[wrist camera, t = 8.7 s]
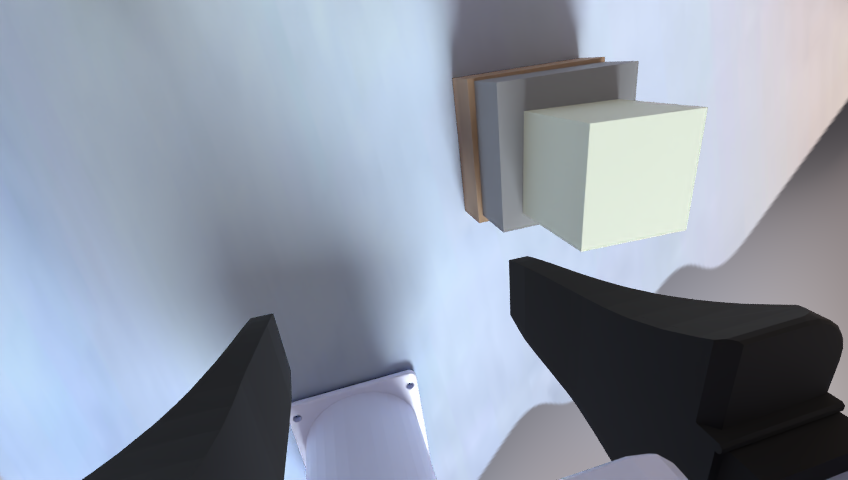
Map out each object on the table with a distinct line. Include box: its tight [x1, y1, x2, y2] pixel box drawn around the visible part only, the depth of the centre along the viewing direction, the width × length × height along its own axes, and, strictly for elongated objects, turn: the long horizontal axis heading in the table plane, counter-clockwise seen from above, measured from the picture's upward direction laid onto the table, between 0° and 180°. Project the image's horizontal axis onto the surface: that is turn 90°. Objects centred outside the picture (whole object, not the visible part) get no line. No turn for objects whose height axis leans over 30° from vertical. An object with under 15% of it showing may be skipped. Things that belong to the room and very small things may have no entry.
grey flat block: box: [474, 61, 639, 232], centre depth 19 cm, size 6×6×2 cm
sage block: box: [523, 99, 708, 252], centre depth 17 cm, size 4×4×4 cm
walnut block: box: [452, 57, 605, 223], centre depth 22 cm, size 7×7×2 cm
